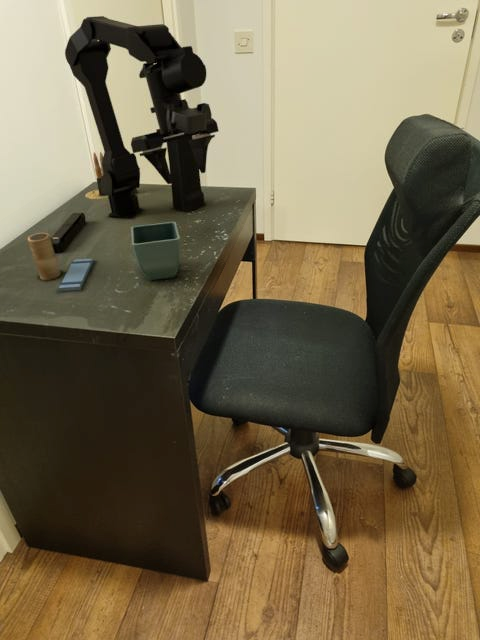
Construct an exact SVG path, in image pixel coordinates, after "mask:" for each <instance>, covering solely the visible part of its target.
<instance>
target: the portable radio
mask: <svg viewBox="0 0 480 640" xmlns="http://www.w3.org/2000/svg"><path fill="white" fill-rule="evenodd" d="M178 133H182V131H178ZM171 135H173V134H172V133H171V134H169V136H171ZM178 136H179V135H178ZM174 137H175V136H174ZM189 140H192V137H190V136H189V137H185V138H181V139H177V140H173V141H170V142H166V148H167V150H166V151H167V157H168V168H169V172H170V175H171V181H172V183H171V184H170V186H171V195H172V197H171V199H172V207H173V209H174V210H176V211H177V210H178V211H181V212H193V211H194V210H197V209H198V208H201V207H203V206H204V205H205V195H204V192H203V190H202V185H201V184H202V183H201V174H200V173H201V172H200V169H199V167H198V165H197V162H196V159H195V157H194V154H193V151H192V149H191V146H190V143H189Z"/></svg>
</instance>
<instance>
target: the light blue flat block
mask: <svg viewBox="0 0 480 640" xmlns="http://www.w3.org/2000/svg"><path fill="white" fill-rule="evenodd" d="M93 264H94V259H93V258H79V259H73V261H71V264H70V266H69V268H68V270H67V271H66V273H65V275H64V278H63V279H62V280H61V282H60V283H59V287H58V290H59V292H70V291H72V292H73V291H81V290H82V288H83V285H84V284H85V282H86V280H87V276H88V275H89V272H90V270H91V268H92V266H93Z"/></svg>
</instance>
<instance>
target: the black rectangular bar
mask: <svg viewBox="0 0 480 640" xmlns="http://www.w3.org/2000/svg"><path fill="white" fill-rule="evenodd" d="M86 220H87V219H86V214H85V213H84V212H73V213H71V214H70V216H69V217H68V218H67V219H66V220H65V221H64V222H63V223H62V224H61V226H60V227H59V228H58V229H57V230H56V231H55V232H54V233H53V235H52V236H50V239H51V243H52V246H53V249H54V253H63V252H64V250H65V249H66V248H67V247H68V245H69V244H70V243H71V241H72V240H73V239H74V238H75V236H76V235H77V234H78V233H79V232H80V231H81V229H82V228H83V227H84V226H85V225H86Z"/></svg>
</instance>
